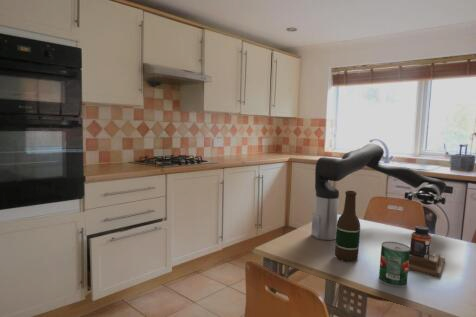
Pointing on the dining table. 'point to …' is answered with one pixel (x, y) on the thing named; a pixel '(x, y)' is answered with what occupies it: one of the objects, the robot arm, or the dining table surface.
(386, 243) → the canned tomato
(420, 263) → the walnut dock
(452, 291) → the dining table surface
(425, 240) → the supplement bottle
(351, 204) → the beer bottle
